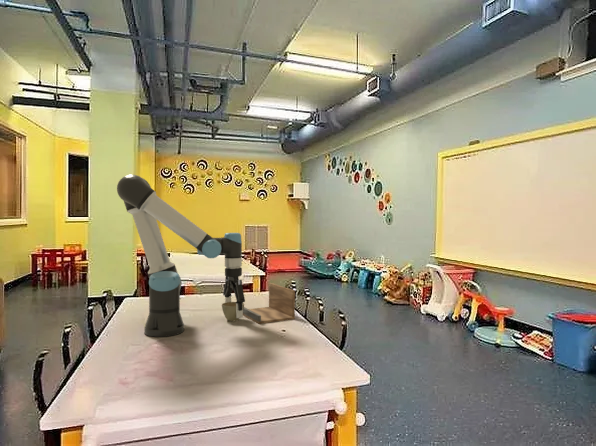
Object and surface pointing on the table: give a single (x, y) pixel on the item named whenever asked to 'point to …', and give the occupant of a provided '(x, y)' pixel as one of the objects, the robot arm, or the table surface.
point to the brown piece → (274, 306)
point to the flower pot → (230, 311)
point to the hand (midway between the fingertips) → (233, 314)
